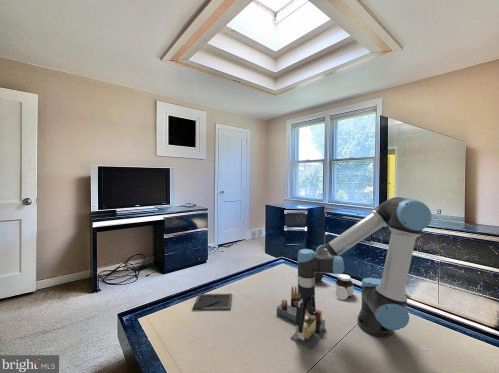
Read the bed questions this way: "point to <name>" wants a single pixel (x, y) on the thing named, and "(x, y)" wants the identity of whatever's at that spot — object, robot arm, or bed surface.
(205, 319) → the bed surface
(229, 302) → the picture frame
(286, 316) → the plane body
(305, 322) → the lever cap
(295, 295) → the ammunition clip
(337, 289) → the spread jar
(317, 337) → the felt mat
